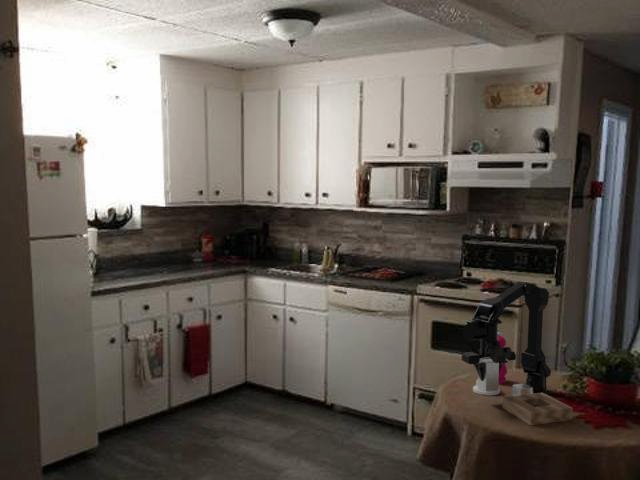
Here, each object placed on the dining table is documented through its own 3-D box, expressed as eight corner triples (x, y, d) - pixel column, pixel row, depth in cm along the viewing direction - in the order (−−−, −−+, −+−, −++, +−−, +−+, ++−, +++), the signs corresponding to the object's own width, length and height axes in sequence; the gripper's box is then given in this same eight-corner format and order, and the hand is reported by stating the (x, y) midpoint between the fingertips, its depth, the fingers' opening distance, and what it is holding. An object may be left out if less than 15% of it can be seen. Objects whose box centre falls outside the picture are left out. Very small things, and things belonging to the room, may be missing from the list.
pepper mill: (507, 384, 237) (508, 334, 235) (488, 383, 238) (489, 333, 237) (506, 379, 244) (506, 330, 242) (487, 378, 245) (488, 329, 244)
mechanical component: (495, 397, 223) (503, 390, 231) (496, 386, 222) (503, 379, 231) (469, 393, 228) (477, 386, 236) (469, 381, 228) (477, 375, 236)
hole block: (542, 403, 215) (542, 392, 215) (572, 419, 200) (572, 407, 200) (502, 408, 211) (502, 397, 211) (530, 425, 196) (530, 413, 195)
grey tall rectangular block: (490, 385, 219) (491, 358, 218) (498, 389, 214) (498, 362, 213) (478, 386, 218) (478, 359, 217) (485, 391, 213) (486, 363, 212)
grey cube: (524, 396, 223) (524, 383, 223) (532, 401, 218) (532, 387, 218) (512, 398, 222) (512, 384, 221) (520, 402, 217) (520, 389, 217)
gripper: (477, 344, 204) (477, 389, 205) (525, 340, 209) (524, 384, 210) (461, 336, 215) (460, 379, 216) (507, 333, 220) (506, 375, 221)
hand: (488, 379), depth 216 cm, fingers closed on grey tall rectangular block, 5 cm apart
